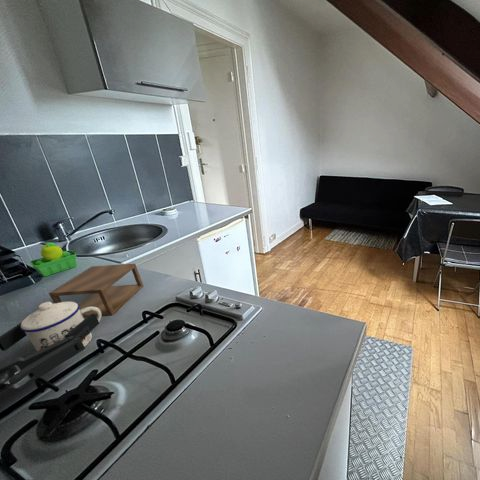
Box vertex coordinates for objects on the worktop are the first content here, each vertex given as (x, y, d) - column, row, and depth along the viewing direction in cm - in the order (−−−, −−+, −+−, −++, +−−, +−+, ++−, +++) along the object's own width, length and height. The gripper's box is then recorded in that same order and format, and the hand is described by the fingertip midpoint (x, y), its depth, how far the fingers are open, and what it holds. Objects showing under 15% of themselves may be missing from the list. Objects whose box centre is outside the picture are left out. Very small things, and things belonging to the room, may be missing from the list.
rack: (62, 318, 68) (48, 293, 65) (101, 288, 81) (91, 266, 78) (112, 315, 68) (100, 289, 65) (143, 286, 81) (135, 263, 78)
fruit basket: (76, 261, 102) (63, 234, 97) (83, 266, 97) (70, 238, 92) (35, 274, 93) (19, 245, 89) (41, 280, 88) (24, 250, 84)
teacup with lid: (41, 370, 53) (11, 325, 48) (39, 348, 58) (13, 306, 54) (112, 337, 61) (93, 295, 56) (105, 320, 66) (86, 281, 62)
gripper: (9, 396, 36) (115, 302, 56) (-175, 409, 36) (-3, 310, 55) (35, 430, 39) (127, 330, 58) (-134, 442, 39) (15, 337, 58)
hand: (64, 320), depth 57 cm, fingers open, 13 cm apart
